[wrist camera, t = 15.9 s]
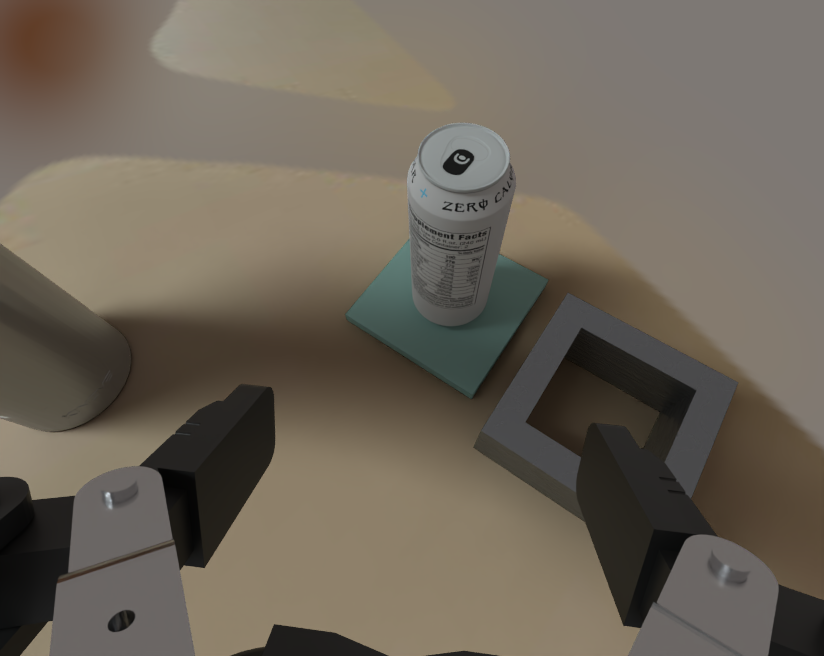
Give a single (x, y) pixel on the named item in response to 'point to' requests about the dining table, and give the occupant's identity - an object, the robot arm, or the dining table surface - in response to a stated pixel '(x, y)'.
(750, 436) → the dining table surface
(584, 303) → the collar block
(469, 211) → the energy drink can
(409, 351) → the mat
